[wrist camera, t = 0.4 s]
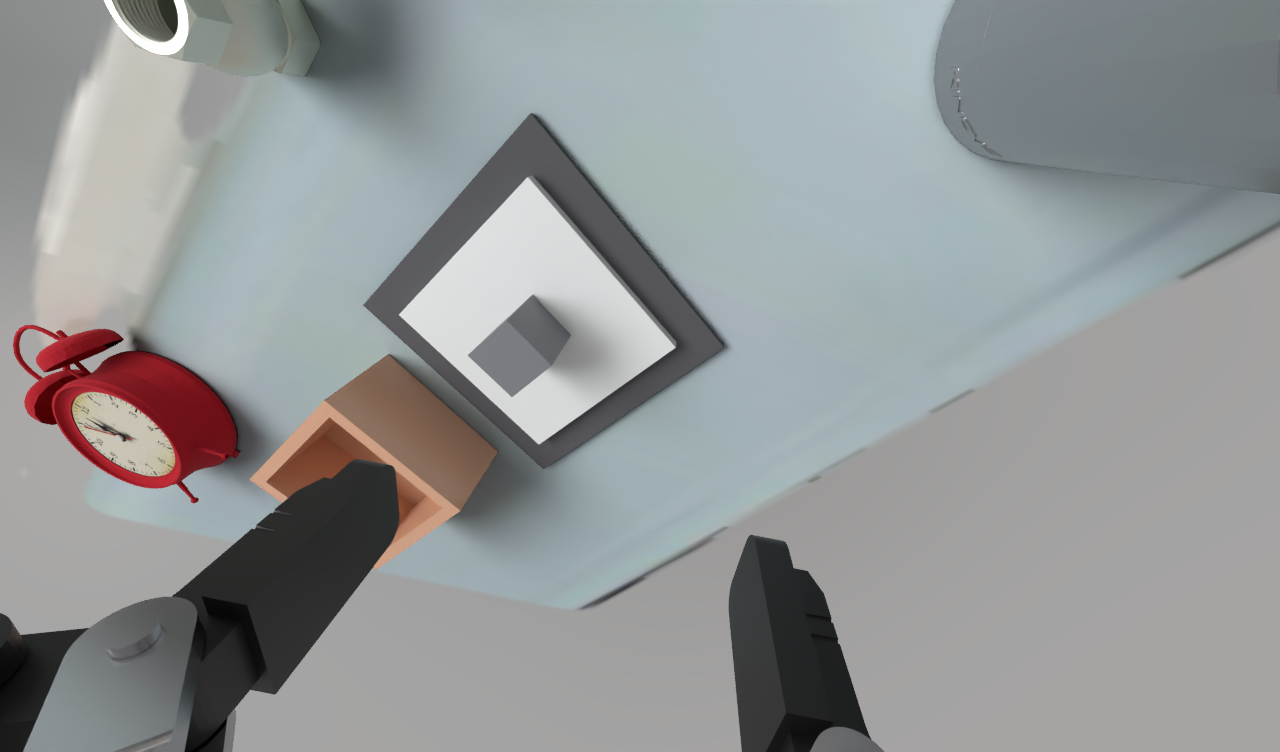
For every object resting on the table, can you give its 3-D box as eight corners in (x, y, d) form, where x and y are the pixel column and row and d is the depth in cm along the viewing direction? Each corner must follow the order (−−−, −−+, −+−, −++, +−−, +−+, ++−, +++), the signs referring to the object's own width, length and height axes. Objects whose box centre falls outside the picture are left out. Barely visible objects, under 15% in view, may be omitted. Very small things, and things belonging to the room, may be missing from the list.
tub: (388, 354, 31) (324, 400, 26) (498, 451, 34) (460, 511, 29) (317, 426, 35) (249, 479, 30) (421, 508, 38) (375, 569, 33)
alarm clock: (187, 520, 37) (-77, 428, 30) (238, 461, 42) (21, 370, 35) (231, 454, 33) (-65, 329, 26) (282, 397, 37) (45, 280, 31)
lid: (532, 175, 24) (496, 185, 20) (676, 341, 28) (671, 380, 23) (406, 310, 29) (355, 341, 25) (542, 437, 32) (518, 484, 28)
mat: (533, 113, 23) (530, 113, 23) (723, 344, 28) (723, 347, 27) (367, 303, 29) (363, 305, 29) (545, 465, 34) (543, 469, 34)
